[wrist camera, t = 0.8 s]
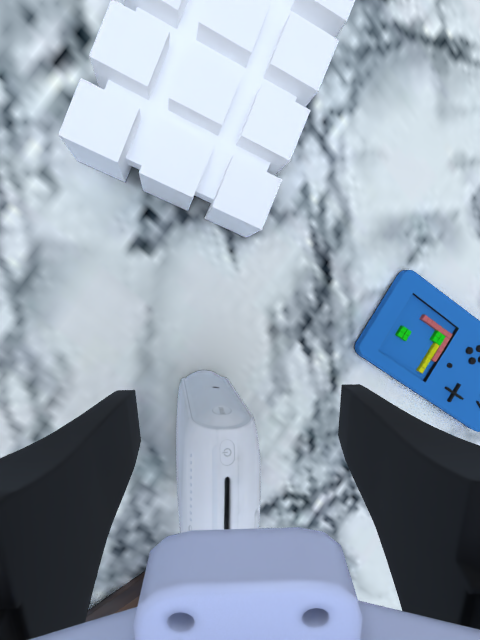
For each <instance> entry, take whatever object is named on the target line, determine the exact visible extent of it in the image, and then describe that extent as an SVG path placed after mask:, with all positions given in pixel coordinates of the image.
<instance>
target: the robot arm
mask: <svg viewBox="0 0 480 640" xmlns="http://www.w3.org/2000/svg"><path fill="white" fill-rule="evenodd" d="M338 436H339V440H340V443H341V447H342V450H343V454H344V457H345V460H346V462H347V465H348V467H349V469H350V471H351V474H352V476H353V478H354V480H355V482H356V485H357V487H358V489H359V491H360V493H361V495H362V498H363V500H364V502H365V504H366V506H367V508H368V511H369V513H370V515H371V517H372V520H373V522H374V525H375V527H376V529H377V532H378V535H379V538H380V541H381V544H382V547H383V550H384V553H385V556H386V559H387V562H388V565H389V568H390V572H391V575H392V578H393V581H394V584H395V587H396V590H397V594H398V597H399V601H400V604H401V607H402V611H400V610H395V609H391V608H387V607H383V606H379V605H375V604H370V603H366V602H362V601H358V599H357V596H356V592H355V589H354V586H353V583H352V579H351V576H350V573H349V570H348V566H347V563H346V560H345V557H344V553H343V550H342V547H341V545H340V544H339V543H338V542H336V541H335V540H334V539H332V538H331V537H330V536H329V535H327V534H326V533H325V532H322V531H317V530H311V529H306V528H300V527H290V528H256V529H222V530H191V531H187V532H183V533H179V534H175V535H171V536H167V537H166V538H165V539H163V540H162V541H161V542H160V543H159V544H158V545H156V546H155V547H154V548H153V549H152V550H151V551H150V554H149V558H148V563H147V567H146V571H145V576H144V580H143V584H142V589H141V593H140V597H139V602H138V606H137V607H135V608H131V609H128V610H125V611H121V612H118V613H115V614H112V615H108V616H105V617H102V618H98V619H95V620H92V621H88V622H85V621H86V616H87V612H88V608H89V604H90V600H91V596H92V592H93V588H94V584H95V580H96V577H97V573H98V569H99V565H100V562H101V558H102V555H103V551H104V547H105V544H106V540H107V537H108V534H109V531H110V528H111V525H112V523H113V520H114V518H115V515H116V513H117V510H118V508H119V505H120V503H121V500H122V498H123V495H124V493H125V490H126V488H127V485H128V482H129V480H130V477H131V475H132V472H133V470H134V467H135V463H136V459H137V455H138V451H139V447H140V442H141V437H140V429H139V420H138V412H137V403H136V394H135V390H119V391H116V392H114V393H112V394H111V395H109V396H108V397H106V398H105V399H103V400H102V401H100V402H99V403H98V404H96V405H95V406H93V407H92V408H90V409H89V410H88V411H86V412H85V413H83V414H82V415H80V416H79V417H77V418H76V419H74V420H73V421H71V422H69V423H68V424H66V425H65V426H63V427H61V428H60V429H58V430H57V431H55V432H53V433H52V434H50V435H48V436H46V437H44V438H43V439H41V440H39V441H37V442H35V443H33V444H31V445H29V446H27V447H25V448H23V449H21V450H18V451H16V452H14V453H12V454H9V455H7V456H5V457H2V458H0V640H480V446H479V445H476V444H473V443H471V442H468V441H465V440H463V439H460V438H458V437H455V436H453V435H451V434H448V433H446V432H444V431H442V430H439V429H437V428H435V427H433V426H431V425H429V424H427V423H425V422H423V421H421V420H419V419H417V418H416V417H414V416H412V415H410V414H408V413H407V412H405V411H403V410H401V409H400V408H398V407H396V406H395V405H393V404H391V403H390V402H388V401H387V400H385V399H383V398H382V397H380V396H379V395H377V394H375V393H374V392H372V391H370V390H369V389H367V388H365V387H364V386H362V385H359V384H357V385H342V389H341V403H340V417H339V431H338Z"/></svg>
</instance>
